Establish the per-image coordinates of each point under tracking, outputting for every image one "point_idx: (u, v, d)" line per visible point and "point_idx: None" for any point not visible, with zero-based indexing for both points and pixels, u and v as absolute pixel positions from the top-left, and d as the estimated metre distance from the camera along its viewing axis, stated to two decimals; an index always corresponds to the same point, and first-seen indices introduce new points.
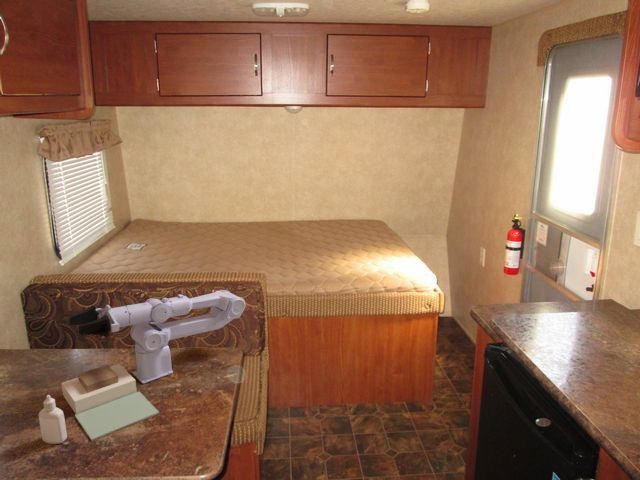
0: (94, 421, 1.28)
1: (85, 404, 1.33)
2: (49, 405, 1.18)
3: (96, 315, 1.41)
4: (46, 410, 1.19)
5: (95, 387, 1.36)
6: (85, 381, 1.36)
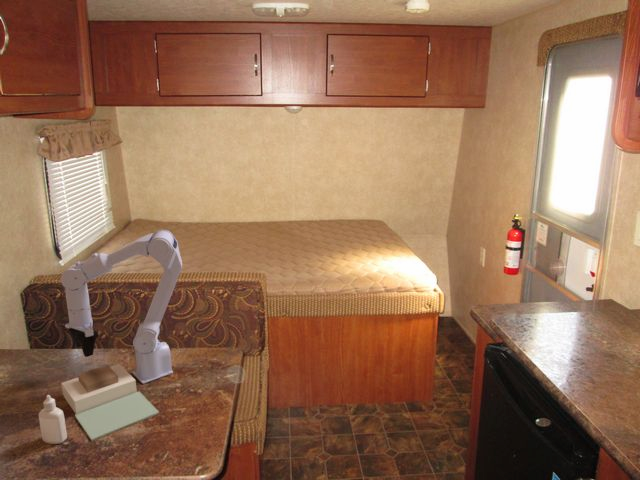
0: (94, 421, 1.28)
1: (85, 404, 1.33)
2: (49, 405, 1.19)
3: None
4: (46, 410, 1.19)
5: (95, 387, 1.36)
6: (85, 381, 1.36)
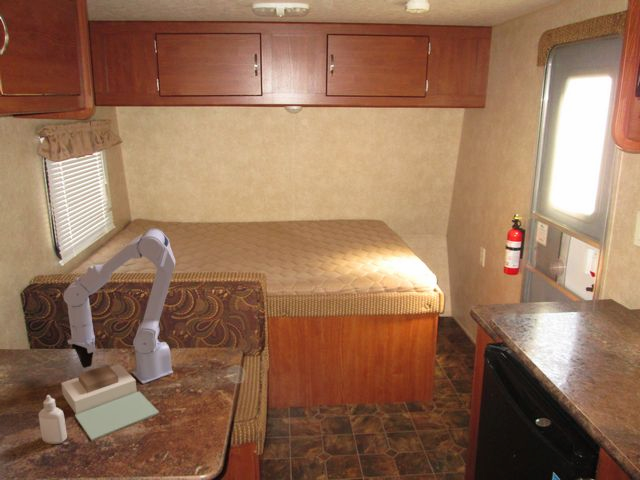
0: (94, 421, 1.28)
1: (85, 404, 1.33)
2: (49, 405, 1.18)
3: None
4: (46, 410, 1.19)
5: (95, 387, 1.36)
6: (85, 381, 1.36)
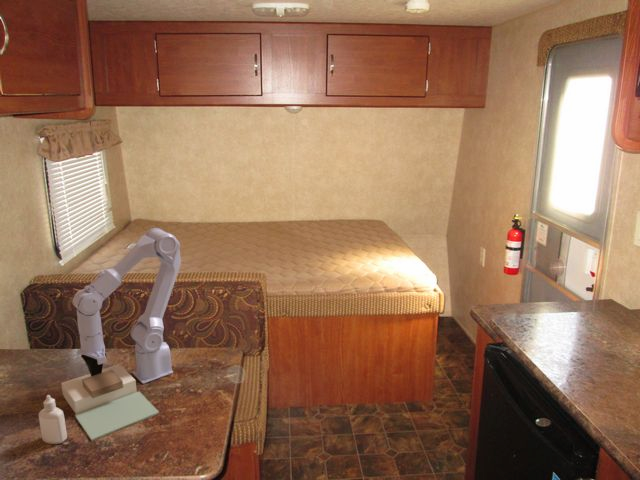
0: (94, 421, 1.28)
1: (85, 404, 1.33)
2: (49, 405, 1.18)
3: None
4: (46, 410, 1.19)
5: (99, 393, 1.33)
6: (89, 386, 1.34)
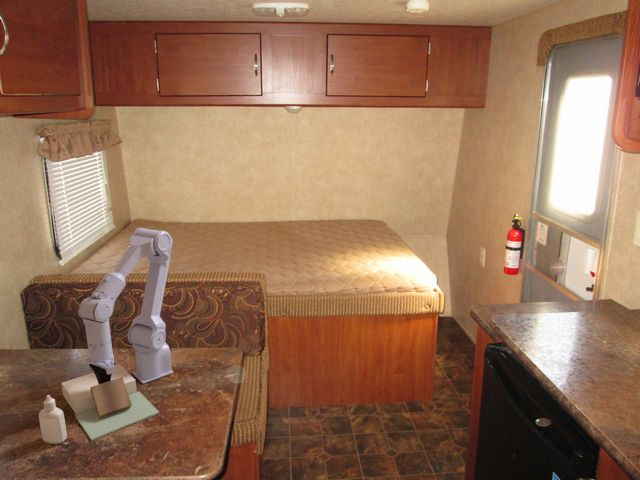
0: (94, 421, 1.28)
1: (85, 404, 1.33)
2: (49, 405, 1.19)
3: None
4: (46, 410, 1.19)
5: (107, 414, 1.30)
6: (98, 405, 1.29)
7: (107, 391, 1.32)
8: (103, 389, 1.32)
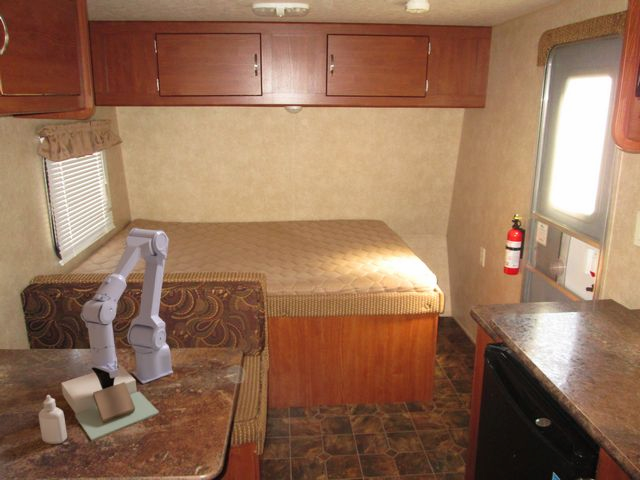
0: (94, 421, 1.28)
1: (85, 404, 1.33)
2: (49, 405, 1.18)
3: None
4: (46, 410, 1.19)
5: (110, 418, 1.28)
6: (101, 409, 1.28)
7: (110, 396, 1.31)
8: (106, 394, 1.31)
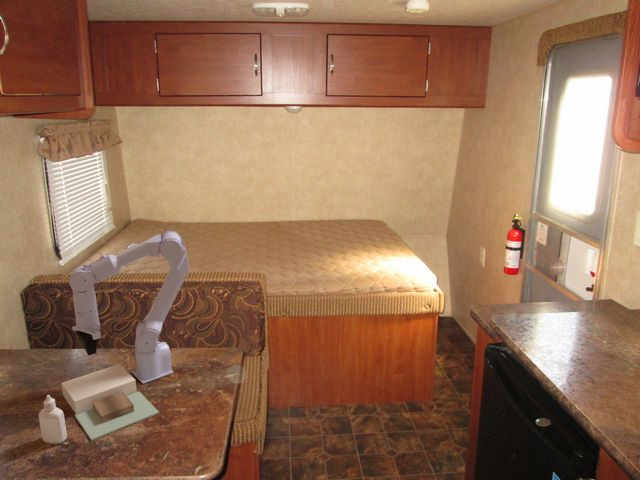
0: (94, 421, 1.28)
1: (85, 404, 1.33)
2: (49, 405, 1.18)
3: None
4: (46, 410, 1.19)
5: (110, 417, 1.28)
6: (99, 410, 1.29)
7: (108, 401, 1.33)
8: (104, 401, 1.33)
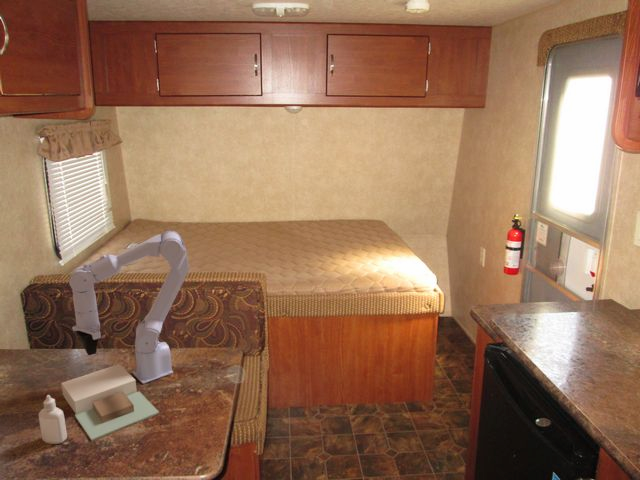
0: (94, 421, 1.28)
1: (85, 404, 1.33)
2: (49, 405, 1.19)
3: None
4: (46, 410, 1.19)
5: (110, 417, 1.28)
6: (99, 410, 1.29)
7: (108, 401, 1.33)
8: (104, 401, 1.33)
